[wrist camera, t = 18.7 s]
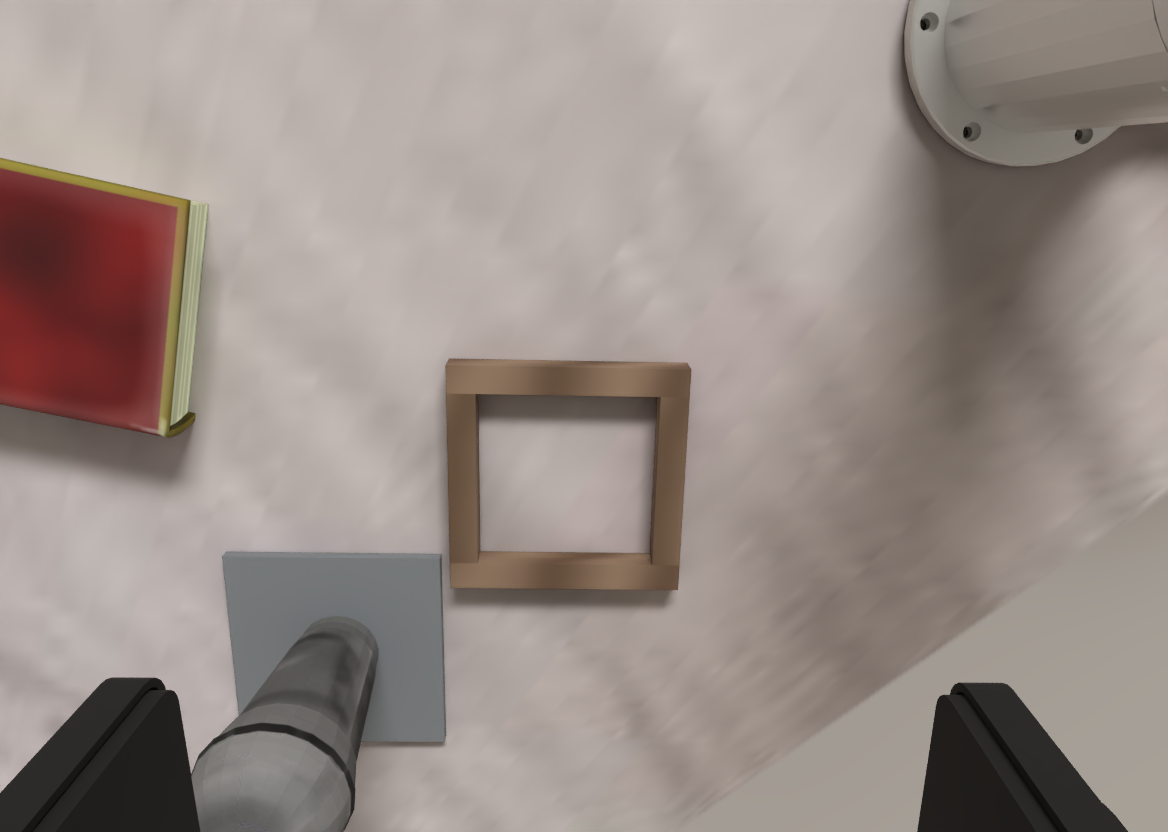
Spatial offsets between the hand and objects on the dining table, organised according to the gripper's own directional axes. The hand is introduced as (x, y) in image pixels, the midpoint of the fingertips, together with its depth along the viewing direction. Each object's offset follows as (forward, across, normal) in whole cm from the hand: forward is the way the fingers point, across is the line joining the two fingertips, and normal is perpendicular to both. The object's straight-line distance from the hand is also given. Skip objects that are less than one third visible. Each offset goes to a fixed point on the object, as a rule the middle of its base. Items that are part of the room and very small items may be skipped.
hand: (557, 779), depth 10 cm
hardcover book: (+35, +30, -2) cm, 46 cm away
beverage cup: (+34, +14, +20) cm, 42 cm away
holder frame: (+35, +1, +10) cm, 36 cm away
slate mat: (+34, +14, +20) cm, 42 cm away
